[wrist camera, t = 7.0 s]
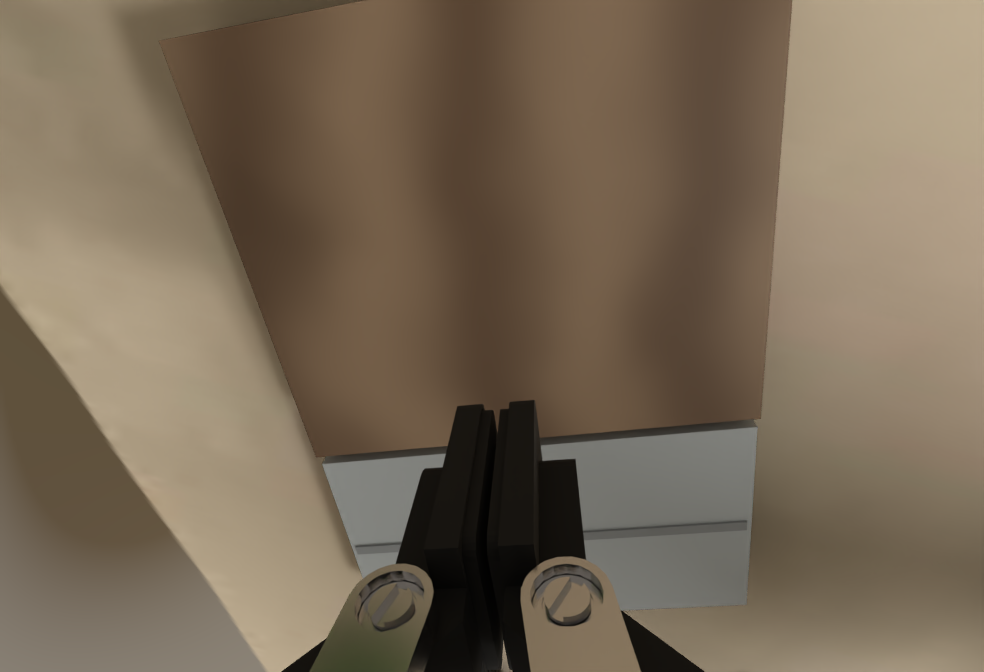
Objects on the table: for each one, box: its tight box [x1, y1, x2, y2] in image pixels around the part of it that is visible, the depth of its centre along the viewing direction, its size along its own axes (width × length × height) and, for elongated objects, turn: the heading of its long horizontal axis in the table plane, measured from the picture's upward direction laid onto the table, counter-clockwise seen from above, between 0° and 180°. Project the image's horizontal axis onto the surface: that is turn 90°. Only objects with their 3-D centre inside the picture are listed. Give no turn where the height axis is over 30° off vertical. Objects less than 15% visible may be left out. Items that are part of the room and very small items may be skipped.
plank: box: [159, 0, 792, 457], centre depth 17 cm, size 16×14×2 cm
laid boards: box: [322, 419, 758, 611], centre depth 23 cm, size 16×9×2 cm, turn 99°
